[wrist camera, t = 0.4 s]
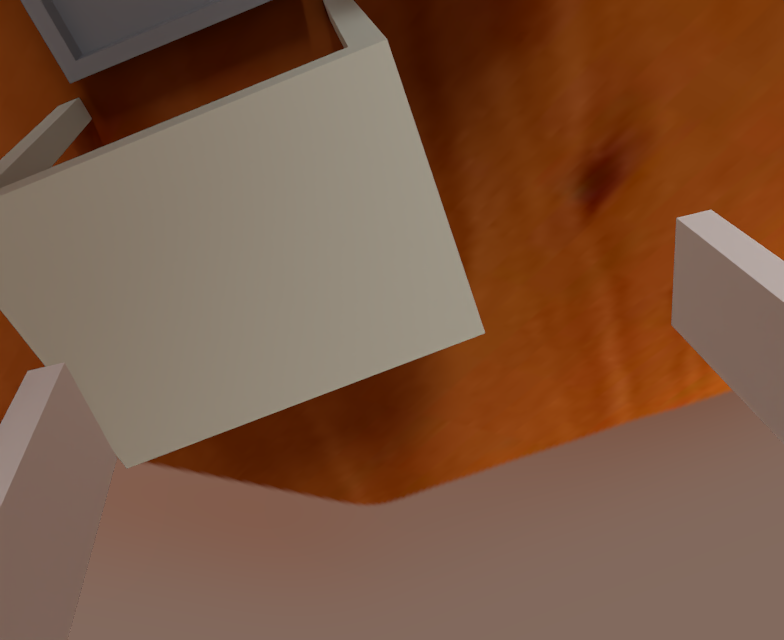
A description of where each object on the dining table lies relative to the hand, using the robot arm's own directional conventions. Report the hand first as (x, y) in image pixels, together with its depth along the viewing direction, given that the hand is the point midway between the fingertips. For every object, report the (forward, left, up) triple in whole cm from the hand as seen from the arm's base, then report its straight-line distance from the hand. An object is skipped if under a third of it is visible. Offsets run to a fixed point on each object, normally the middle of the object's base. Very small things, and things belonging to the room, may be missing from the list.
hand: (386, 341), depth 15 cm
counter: (+2, -5, -26) cm, 27 cm away
